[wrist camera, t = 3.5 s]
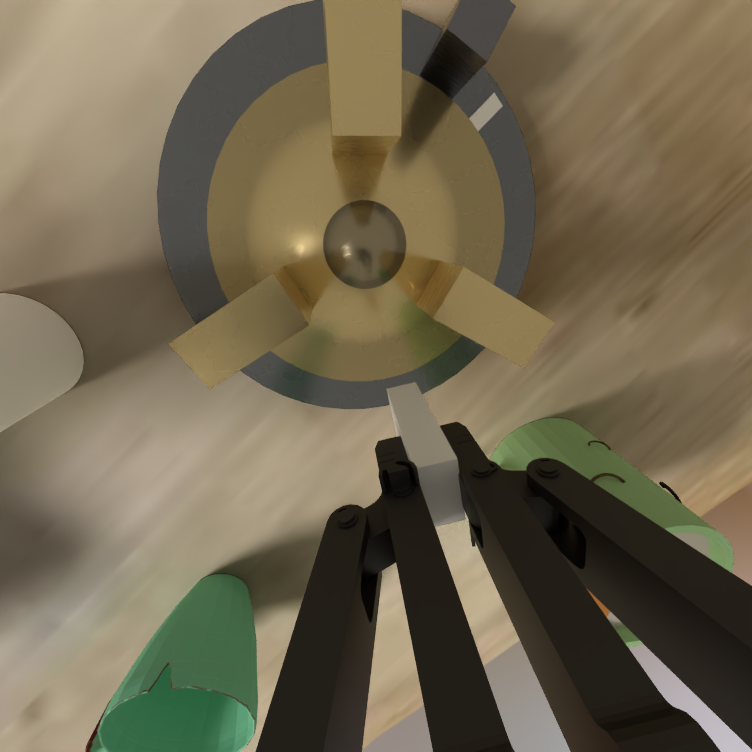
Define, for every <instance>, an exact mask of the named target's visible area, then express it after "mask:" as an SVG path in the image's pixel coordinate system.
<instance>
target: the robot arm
mask: <svg viewBox="0 0 752 752" xmlns="http://www.w3.org/2000/svg"><path fill="white" fill-rule="evenodd" d="M387 393H388V398H389V403H390V408H391V413H392V417H393V422H394V427H395V432H396V436H397V437H394V438H389V439H385V440H381V441H378V443H377V445H376V448H375V452H376V457H377V462H378V467H379V480H380V484H381V488H382V493H381V496H380V497H379V499H378V500H377V501H376V502H375V503H373V504H372V505H370V506H368V507H366V508H365V509H363V508H362V507H360V506H358V505H351V504H350V505H346V506H342V507H340V508H338V509H336V510H335V511H334V512H333V513H332V514H331V515H330V517H329V519H328V521H327V524H326V527H325V531H324V534H323V537H322V540H321V543H320V547H319V550H318V553H317V556H316V560H315V563H314V566H313V569H312V572H311V576H310V579H309V582H308V585H307V588H306V592H305V595H304V598H303V601H302V604H301V608H300V611H299V614H298V617H297V621H296V624H295V627H294V630H293V633H292V637H291V640H290V643H289V646H288V649H287V653H286V656H285V659H284V662H283V666H282V669H281V672H280V675H279V678H278V682H277V685H276V688H275V691H274V694H273V698H272V701H271V704H270V707H269V710H268V714H267V717H266V720H265V723H264V727H263V730H262V733H261V736H260V739H259V743H258V746H257V749H256V752H362V745H363V736H364V727H365V719H366V710H367V701H368V693H369V684H370V675H371V666H372V658H373V649H374V640H375V632H376V623H377V614H378V606H379V597H380V588H381V579H382V570H384V569H385V568H387V567H389V566H390V565H392V564H394V563H395V562H396V563H397V568H398V573H399V579H400V584H401V589H402V594H403V599H404V604H405V609H406V614H407V620H408V625H409V630H410V635H411V640H412V645H413V650H414V656H415V661H416V666H417V671H418V676H419V681H420V686H421V691H422V697H423V702H424V707H425V712H426V717H427V722H428V727H429V732H430V738H431V742H432V748H433V752H515V751H514V750H513V748H512V746H511V744H510V741H509V739H508V736H507V733H506V731H505V727H504V725H503V722H502V719H501V716H500V713H499V710H498V708H497V704H496V702H495V699H494V696H493V693H492V690H491V687H490V684H489V681H488V679H487V676H486V673H485V670H484V667H483V664H482V661H481V658H480V656H479V653H478V650H477V647H476V644H475V641H474V638H473V635H472V633H471V630H470V627H469V624H468V621H467V618H466V615H465V612H464V610H463V607H462V604H461V601H460V598H459V595H458V592H457V589H456V587H455V584H454V581H453V578H452V575H451V572H450V569H449V566H448V564H447V561H446V558H445V555H444V552H443V549H442V546H441V544H440V541H439V538H438V535H437V532H436V529H435V527H436V526H440V525H444V524H449V523H453V522H457V521H461V520H465V513H464V510H465V512H466V514H467V517H468V519H469V526H470V534H471V542H472V547H473V546H475V542H476V544H477V546H478V549H479V551H480V553H481V555H482V557H483V560H484V562H485V564H486V566H487V568H488V571H489V573H490V575H491V577H492V579H493V582H494V584H495V586H496V588H497V590H498V593H499V595H500V597H501V599H502V601H503V604H504V606H505V608H506V610H507V612H508V615H509V617H510V619H511V621H512V623H513V626H514V628H515V630H516V632H517V634H518V637H519V639H520V641H521V643H522V645H523V647H524V650H525V652H526V654H527V656H528V659H529V661H530V663H531V665H532V667H533V670H534V672H535V674H536V676H537V678H538V680H539V683H540V685H541V687H542V689H543V691H544V694H545V696H546V698H547V700H548V702H549V705H550V707H551V709H552V711H553V714H554V716H555V718H556V720H557V722H558V725H559V727H560V729H561V731H562V733H563V736H564V738H565V740H566V742H567V744H568V747H569V749H570V751H571V752H720V750H719V749H718V748H717V746H716V745H715V744H714V742H713V741H712V739H711V738H710V737H709V736H708V735H707V733H706V732H705V731H704V730H703V729H702V727H701V726H700V725H699V724H698V723H697V721H695V720H694V719H693V718H692V717H691V716H690V715H689V714H687V713H686V712H684V711H682V710H680V709H677V708H675V707H673V706H671V705H670V704H669V703H668V702H667V701H666V700H665V699H664V697H663V696H662V695H661V693H660V692H659V691H658V689H657V688H656V686H655V685H654V684H653V682H652V681H651V680H650V678H649V677H648V675H647V674H646V672H645V671H644V669H643V668H642V667H641V665H640V664H639V662H638V661H637V660H636V658H635V657H634V655H633V654H632V653H631V651H630V650H629V648H628V647H627V645H626V644H625V643H624V641H623V640H622V638H621V637H620V635H619V634H618V633H617V631H616V630H615V628H614V627H613V626H612V624H611V623H610V621H609V620H608V618H607V617H606V616H605V614H604V613H603V611H602V610H601V609H600V607H599V606H598V604H597V603H596V601H595V600H594V599H593V597H592V596H591V594H590V593H589V592H588V590H589V591H590V592H591V593H592V594H593V595H594V596H595V597H596V598H597V599H598V600H599V601H600V602H601V603H602V604H603V605H604V606H605V607H606V608H607V609H608V610H609V611H610V612H611V613H612V614H613V615H614V616H615V617H617V618H618V619H619V620H620V621H621V622H622V623H623V624H624V625H625V626H626V627H627V628H628V629H629V630H630V631H631V632H632V633H633V634H634V635H635V636H636V637H637V638H638V639H639V640H640V641H641V642H642V643H643V644H644V645H645V646H646V647H647V648H648V649H649V650H651V652H652V653H654V655H655V656H657V657H658V658H659V659H660V660H661V661H662V662H663V663H664V664H665V665H666V666H667V667H668V668H669V669H670V670H671V671H672V672H673V673H674V674H675V675H676V676H677V677H678V678H679V679H680V680H681V681H682V682H683V683H684V684H685V685H686V686H687V687H689V689H690V690H691V691H692V692H694V694H696V695H697V696H698V697H699V698H700V699H701V700H702V701H703V702H704V703H705V704H706V705H707V706H708V707H709V708H710V709H711V710H712V711H713V712H714V713H715V714H716V715H717V716H718V717H719V718H720V719H721V720H722V721H723V722H724V723H725V724H726V725H727V726H728V727H729V728H730V729H731V730H732V731H733V732H735V734H737V735H738V736H739V737H740V738H741V739H742V740H743V741H744V742H745V743H746V744H747V745H748V746H749V747H750V748H751V749H752V586H751V585H749V584H748V583H746V582H745V581H743V580H742V579H740V578H739V577H737V576H736V575H734V574H732V573H731V572H730V571H728V570H726V569H725V568H723V567H722V566H720V565H719V564H717V563H716V562H714V561H713V560H711V559H710V558H708V557H707V556H705V555H704V554H702V553H701V552H699V551H697V550H696V549H694V548H693V547H691V546H690V545H688V544H687V543H685V542H684V541H682V540H681V539H679V538H678V537H676V536H675V535H673V534H672V533H670V532H668V531H667V530H665V529H664V528H662V527H661V526H659V525H658V524H656V523H655V522H653V521H652V520H650V519H649V518H647V517H646V516H644V515H643V514H641V513H639V512H638V511H636V510H635V509H633V508H632V507H630V506H629V505H627V504H626V503H624V502H623V501H621V500H620V499H618V498H617V497H615V496H614V495H612V494H610V493H609V492H607V491H606V490H604V489H603V488H601V487H600V486H598V485H597V484H595V483H594V482H592V481H591V480H589V479H588V478H586V477H585V476H583V475H581V474H580V473H578V472H577V471H575V470H574V469H572V468H571V467H569V466H568V465H566V464H565V463H563V462H561V461H559V460H556V459H552V458H538V459H535V460H532V461H531V462H530V463H528V465H527V467H526V470H505V469H502V468H501V467H500V466H499V465H498V464H497V463H496V462H493V461H491V460H488V459H487V457H486V456H485V454H484V453H483V451H482V450H481V448H480V447H479V445H478V444H477V442H476V441H475V440H474V438H473V437H472V435H471V434H470V432H469V431H468V429H467V428H466V427H465V426H464V425H462V424H460V423H458V422H454V423H450V424H446V425H441V426H439V424H438V422H437V420H436V419H435V417H434V415H433V413H432V411H431V410H430V408H429V406H428V404H427V402H426V400H425V399H424V397H423V395H422V393H421V391H420V389H419V388H418V386H417V384H416V382H414V383H409V384H405V385H401V386H396V387H392V388H388V389H387ZM586 588H587V589H588V590H587V589H586Z"/></svg>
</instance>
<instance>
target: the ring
mask: <svg viewBox="0 0 752 752" xmlns="http://www.w3.org/2000/svg"><path fill="white" fill-rule="evenodd" d="M515 7H516V6H515V5H514V4H513V3H512V2H510V1H509V0H458V1H457V3H456V5H455V7H454V8H453V10H452V12H451V14H450V16H449V17H448V19H447V21H446V23H445V25H444V26H443V28H442V29H440V28H439V27H437V26H436V25H435V24H433V23H431V22H429V21H427V20H425V19H423V18H421V17H419V16H417V15H415V14H413V13H411V12H409V11H406V10H403V9H402V69H404V70H406V71H408V72H410V73H413V74H415V75H417V76H419V77H421V78H423V79H425V80H426V81H428V82H429V83H431V84H432V85H434V86H435V87H437V88H438V89H440V90H441V91H442V92H443V93H445V94H446V95H447V96H448V97H449V98H450V99H451V100H452V101H454V102H455V103H456V104H457V105H458V106H459V107H460V109H461V110H462V111H463V112H464V113H465V114H466V116H467V117H468V118H469V119H470V120H471V121H472V123H473V125H474V126H475V128H476V129H477V131H478V132H479V134H480V135H481V137H482V139H483V140H484V142H485V144H486V146H487V149H488V151H489V153H490V155H491V157H492V159H493V162H494V165H495V168H496V171H497V174H498V178H499V181H500V186H501V191H502V197H503V203H504V217H505V228H504V244H503V250H502V256H501V261H500V265H499V269H498V272H497V276H496V279H495V282H494V284H493V285H495V286H496V287H498V288H500V289H501V290H503V291H504V292H506V293H508V294H509V295H511V296H513V297H514V298H516V297H517V295H518V293H519V291H520V288H521V286H522V283H523V280H524V277H525V273H526V270H527V267H528V264H529V259H530V254H531V249H532V244H533V238H534V225H535V191H534V182H533V176H532V169H531V163H530V159H529V155H528V152H527V148H526V145H525V141H524V137H523V134H522V132H521V130H520V127H519V125H518V122H517V120H516V118H515V115H514V113H513V111H512V108H511V107H510V105H509V103H508V102H507V100H506V98H505V97H504V95H503V93H502V91H501V90H500V88H499V86H498V85H497V83H496V82H495V81H494V79H493V78H492V77H491V76H490V74H489V73H488V72H487V71H486V69H485V68H484V67H483V65H484V64H485V63H486V62H487V61H488V59H489V57H490V55H491V53H492V51H493V49H494V47H495V45H496V43H497V41H498V40H499V38H500V36H501V34H502V32H503V30H504V28H505V26H506V24H507V22H508V20H509V18H510V17H511V15H512V13H513V11H514V9H515ZM324 63H326V47H325V31H324V14H323V0H314V1H310V2H305V3H301V4H296V5H292V6H288V7H285V8H283V9H281V10H278V11H276V12H273V13H271V14H269V15H266V16H264V17H261V18H260V19H258V20H256V21H255V22H253V23H252V24H250V25H249V26H247V27H245V28H244V29H242V30H241V31H239V32H238V33H236V34H235V35H233V36H232V37H231V38H230V39H229V40H228V41H227V42H226V43H225V44H224V45H222V46H221V47H220V48H219V49H218V50H217V51H216V52H215V53H214V54H212V56H211V57H210V58H209V59H208V61H207V62H206V63H205V64H204V66H203V67H202V68H201V69H200V71H199V72H198V73H197V74H196V76H195V77H194V78H193V80H192V81H191V83H190V85H189V87H188V88H187V90H186V92H185V94H184V95H183V97H182V99H181V101H180V102H179V104H178V106H177V109H176V111H175V114H174V116H173V119H172V121H171V124H170V127H169V129H168V132H167V135H166V139H165V143H164V148H163V152H162V156H161V161H160V168H159V179H158V190H157V199H158V222H159V228H160V234H161V240H162V246H163V251H164V254H165V257H166V261H167V264H168V267H169V270H170V274H171V277H172V279H173V281H174V283H175V286H176V288H177V290H178V293H179V295H180V297H181V299H182V301H183V303H184V305H185V306H186V308H187V310H188V311H189V313H190V315H191V316H192V318H193V320H194V322H195V323H196V324H198V323H199V322H201V321H202V320H204V319H205V318H207V317H208V316H210V315H211V314H212V313H214V312H215V311H217V310H218V309H220V308H221V307H223V306H224V305H226V304H227V303H229V301H228V299H227V298H226V296H225V294H224V292H223V290H222V287H221V285H220V282H219V280H218V277H217V275H216V272H215V269H214V265H213V261H212V257H211V253H210V248H209V240H208V231H207V204H208V196H209V189H210V183H211V179H212V175H213V172H214V168H215V165H216V161H217V159H218V156H219V154H220V152H221V150H222V147H223V145H224V143H225V140H226V139H227V137H228V135H229V134H230V132H231V130H232V129H233V127H234V126H235V124H236V122H237V121H238V119H239V118H240V117H241V116H242V115H243V114H244V112H245V111H246V110H247V109H248V108H249V106H250V105H251V104H252V103H253V102H254V101H255V100H256V99H257V98H259V97H260V96H261V95H262V94H263V93H264V92H266V91H267V90H268V89H269V88H270V87H272V86H273V85H275V84H276V83H278V82H280V81H281V80H283V79H285V78H286V77H288V76H289V75H291V74H294V73H296V72H299V71H301V70H304V69H306V68H309V67H311V66H315V65H319V64H324ZM484 348H485V347H484V346H482V345H481V344H479V343H477V342H475V341H473V340H471V339H470V338H468V337H466V336H464V335H462V336H461V337H460V338H459V339H458V340H457V341H456V342H455V343H454V344H452V345H451V346H450V347H449V348H448V349H447V350H446V351H444V352H443V353H442V354H440V355H439V356H437V357H436V358H434V359H433V360H431V361H430V362H428V363H426V364H424V365H422V366H420V367H419V368H417V369H414V370H412V371H409V372H407V373H404V374H401V375H398V376H394V377H390V378H386V379H381V380H373V381H344V380H335V379H331V378H326V377H322V376H318V375H315V374H313V373H310V372H307V371H304V370H302V369H300V368H298V367H296V366H294V365H292V364H290V363H288V362H286V361H285V360H283V359H282V358H280V357H279V356H277V355H276V354H274V353H273V352H271V351H269V352H267V353H266V354H264V355H262V356H261V357H259V358H258V359H256V360H255V361H253V362H252V363H250V364H249V365H247V366H245V367H244V368H242V369H241V371H242V372H243V373H244V374H246V375H247V376H249V377H250V378H252V379H254V380H255V381H257V382H258V383H260V384H261V385H263V386H265V387H267V388H269V389H271V390H273V391H275V392H277V393H279V394H281V395H284V396H286V397H289V398H292V399H295V400H298V401H301V402H304V403H308V404H313V405H318V406H322V407H330V408H340V409H365V408H373V407H380V406H386V405H390V403H389V398H388V393H387V389H388V388H392V387H396V386H401V385H405V384H409V383H414V382H416V384H417V386H418V388H419V389H420V391H421V393H422V394H423V393H425V392H427V391H429V390H431V389H433V388H435V387H437V386H439V385H440V384H442V383H444V382H445V381H446V380H448V379H449V378H451V377H452V376H454V375H455V374H457V373H458V372H459V371H461V370H462V369H463V368H464V367H465V366H466V365H467V364H469V363H470V362H471V361H472V360H473V359H474V358H475V357H476V356H477V355H478V354H479V353H480V352H481V351H482V350H483V349H484Z"/></svg>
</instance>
